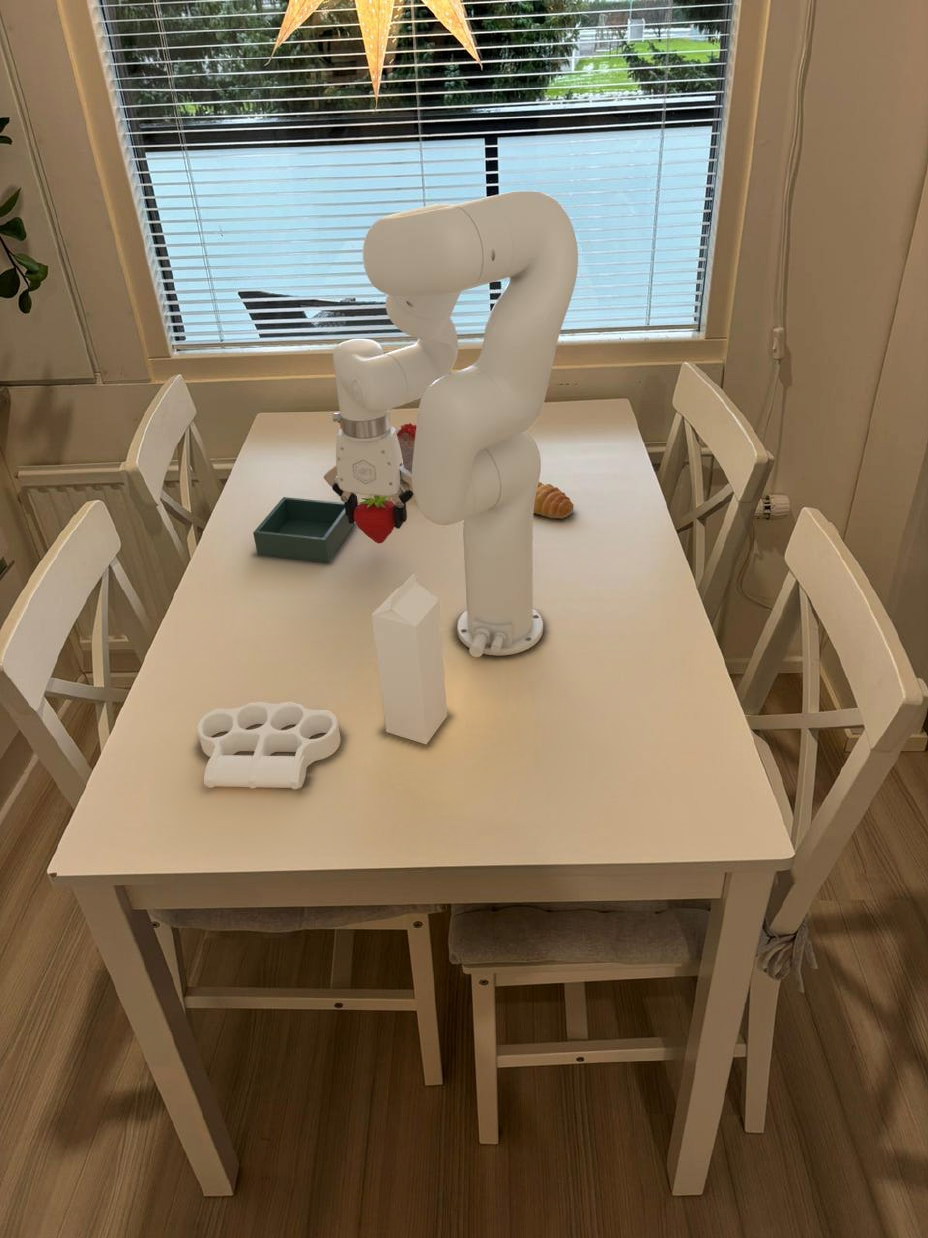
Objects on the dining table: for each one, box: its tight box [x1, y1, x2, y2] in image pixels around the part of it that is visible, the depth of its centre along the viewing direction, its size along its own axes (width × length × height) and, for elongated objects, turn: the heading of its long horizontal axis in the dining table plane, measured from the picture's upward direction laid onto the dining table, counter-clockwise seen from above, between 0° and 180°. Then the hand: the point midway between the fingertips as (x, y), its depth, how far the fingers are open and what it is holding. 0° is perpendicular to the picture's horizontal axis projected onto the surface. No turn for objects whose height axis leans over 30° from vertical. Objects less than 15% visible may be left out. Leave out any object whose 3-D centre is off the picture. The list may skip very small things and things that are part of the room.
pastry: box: [533, 481, 575, 519], centre depth 163 cm, size 9×7×4 cm
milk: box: [371, 572, 448, 745], centre depth 114 cm, size 6×6×22 cm
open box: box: [252, 496, 356, 564], centre depth 158 cm, size 12×13×4 cm
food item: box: [395, 422, 417, 473], centre depth 175 cm, size 14×8×10 cm, turn 83°
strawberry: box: [353, 495, 395, 544], centre depth 152 cm, size 6×8×10 cm
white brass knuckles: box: [196, 700, 341, 790], centre depth 117 cm, size 3×18×15 cm
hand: (377, 521), depth 153 cm, fingers closed on strawberry, 7 cm apart
